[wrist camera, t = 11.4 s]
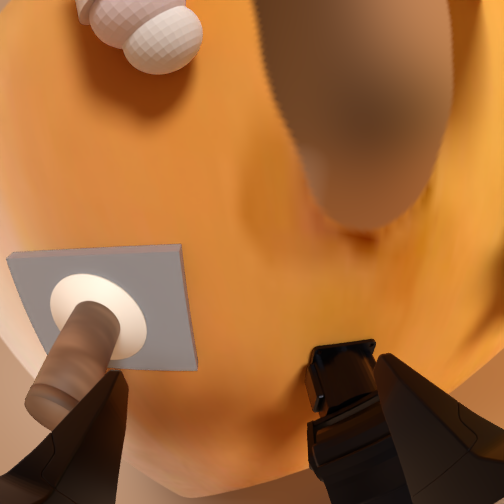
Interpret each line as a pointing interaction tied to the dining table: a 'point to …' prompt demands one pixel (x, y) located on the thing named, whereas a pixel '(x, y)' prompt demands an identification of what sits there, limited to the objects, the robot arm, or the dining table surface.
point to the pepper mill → (73, 363)
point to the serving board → (113, 299)
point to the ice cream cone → (145, 31)
